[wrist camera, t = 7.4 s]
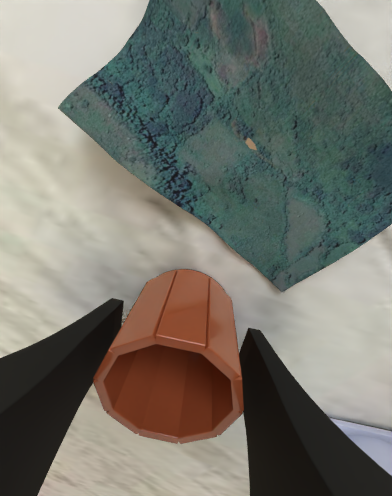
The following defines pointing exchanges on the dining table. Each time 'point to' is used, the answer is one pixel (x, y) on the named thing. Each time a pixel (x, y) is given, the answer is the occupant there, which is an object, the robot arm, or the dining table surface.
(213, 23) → the terrain model
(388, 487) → the robot arm
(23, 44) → the dining table surface
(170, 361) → the faceted terracotta tumbler
